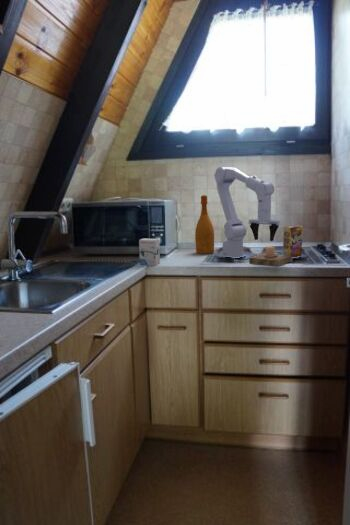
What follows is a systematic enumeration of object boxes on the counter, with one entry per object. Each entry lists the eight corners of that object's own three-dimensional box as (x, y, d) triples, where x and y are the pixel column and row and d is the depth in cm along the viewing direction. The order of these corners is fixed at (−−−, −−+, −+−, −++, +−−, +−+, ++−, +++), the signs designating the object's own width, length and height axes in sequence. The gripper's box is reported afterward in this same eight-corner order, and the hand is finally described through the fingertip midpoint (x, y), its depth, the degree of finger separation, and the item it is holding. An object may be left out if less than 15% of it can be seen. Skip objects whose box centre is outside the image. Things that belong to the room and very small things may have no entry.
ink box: (139, 264, 198) (138, 239, 195) (143, 262, 202) (142, 238, 200) (156, 265, 195) (155, 240, 193) (160, 263, 200) (159, 238, 197)
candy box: (289, 260, 197) (290, 227, 194) (282, 259, 201) (282, 226, 198) (302, 257, 202) (303, 225, 199) (295, 256, 206) (295, 225, 203)
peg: (263, 262, 194) (264, 247, 193) (268, 261, 197) (269, 246, 196) (271, 263, 192) (271, 248, 190) (276, 262, 194) (276, 246, 193)
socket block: (249, 263, 193) (249, 257, 193) (263, 258, 204) (263, 253, 204) (278, 266, 185) (278, 260, 185) (291, 260, 196) (291, 255, 195)
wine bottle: (217, 252, 225) (216, 194, 219) (208, 255, 217) (207, 195, 211) (201, 250, 230) (200, 194, 224) (192, 253, 222) (190, 195, 216)
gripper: (245, 210, 192) (245, 240, 194) (275, 211, 183) (275, 242, 186) (252, 209, 197) (252, 238, 200) (282, 210, 189) (281, 240, 191)
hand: (263, 240), depth 193 cm, fingers open, 7 cm apart
